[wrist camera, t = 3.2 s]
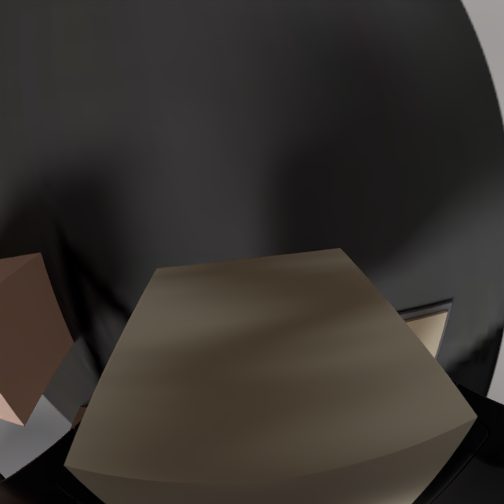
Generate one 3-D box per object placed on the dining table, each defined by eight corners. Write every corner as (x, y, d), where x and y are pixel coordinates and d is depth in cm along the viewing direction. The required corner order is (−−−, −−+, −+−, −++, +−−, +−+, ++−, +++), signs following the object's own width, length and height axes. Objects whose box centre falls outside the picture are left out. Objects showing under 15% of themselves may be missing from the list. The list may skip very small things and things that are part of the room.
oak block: (340, 248, 8) (477, 416, 2) (333, 380, 10) (385, 528, 4) (156, 268, 8) (64, 464, 2) (192, 396, 10) (178, 553, 4)
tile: (450, 300, 13) (454, 304, 13) (424, 388, 16) (426, 392, 16) (336, 324, 13) (338, 329, 13) (327, 414, 16) (329, 419, 15)
